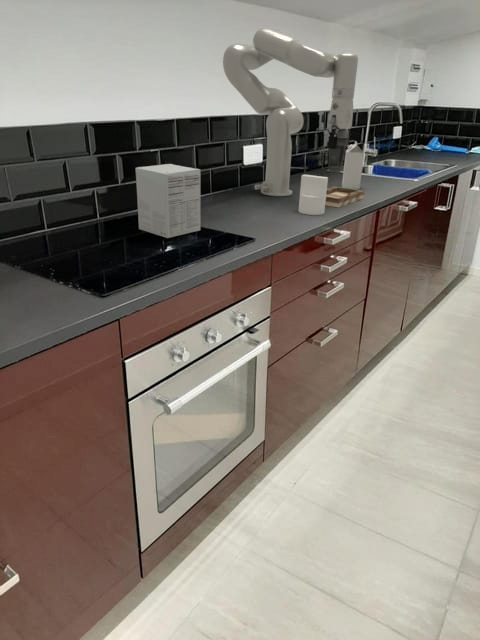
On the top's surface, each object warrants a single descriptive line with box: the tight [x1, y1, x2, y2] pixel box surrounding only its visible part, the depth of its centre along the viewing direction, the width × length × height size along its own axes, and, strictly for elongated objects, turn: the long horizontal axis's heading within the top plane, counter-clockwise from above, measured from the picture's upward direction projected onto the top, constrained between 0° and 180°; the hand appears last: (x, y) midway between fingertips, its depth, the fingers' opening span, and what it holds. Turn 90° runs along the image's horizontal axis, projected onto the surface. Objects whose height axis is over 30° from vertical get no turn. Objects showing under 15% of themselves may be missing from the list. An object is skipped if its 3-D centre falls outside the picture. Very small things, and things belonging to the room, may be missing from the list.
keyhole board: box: [325, 185, 365, 208], centre depth 189 cm, size 22×13×3 cm, turn 144°
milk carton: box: [341, 141, 365, 190], centre depth 212 cm, size 7×7×19 cm
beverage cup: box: [327, 129, 349, 173], centre depth 177 cm, size 7×7×20 cm
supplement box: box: [135, 163, 201, 239], centre depth 140 cm, size 13×13×18 cm
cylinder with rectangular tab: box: [298, 174, 329, 216], centre depth 169 cm, size 9×9×12 cm
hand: (337, 147), depth 178 cm, fingers closed on beverage cup, 7 cm apart
